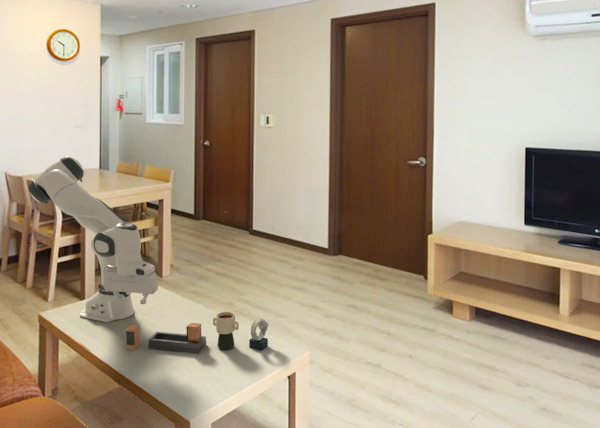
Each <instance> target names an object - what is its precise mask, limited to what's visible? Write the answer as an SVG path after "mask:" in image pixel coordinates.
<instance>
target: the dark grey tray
mask: <svg viewBox="0 0 600 428" xmlns="http://www.w3.org/2000/svg"><path fill="white" fill-rule="evenodd" d="M185 328H186V334H183V333H176V332H175V333H173V332H167V331H166V332H163V331H155V333H153V334H152V335H151V336H150V337H149V338H148V344H147V349H149V350H155V351H156V350H158V351H166V352H175V353H184V354H185V353H186V354H194V355H200V353H201V352H202V351H203V349H204V348H205V347H206V346H207V338H206V337H207V336H204V335H202V323H198V322H190V323H189V324H188V325H187V326H186V327H185Z"/></svg>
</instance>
